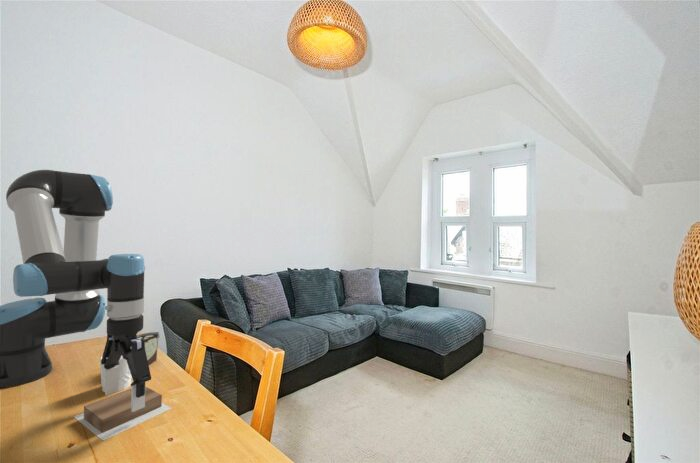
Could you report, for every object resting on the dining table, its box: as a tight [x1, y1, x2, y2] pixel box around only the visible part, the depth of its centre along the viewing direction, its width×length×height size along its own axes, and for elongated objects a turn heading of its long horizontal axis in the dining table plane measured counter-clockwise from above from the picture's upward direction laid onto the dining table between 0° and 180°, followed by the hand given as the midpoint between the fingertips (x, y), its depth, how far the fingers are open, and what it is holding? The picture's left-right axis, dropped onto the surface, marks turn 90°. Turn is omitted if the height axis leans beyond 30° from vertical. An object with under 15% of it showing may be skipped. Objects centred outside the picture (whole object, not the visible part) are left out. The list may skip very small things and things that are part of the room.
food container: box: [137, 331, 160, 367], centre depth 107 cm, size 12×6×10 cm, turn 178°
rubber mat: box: [73, 402, 173, 441], centre depth 80 cm, size 16×15×1 cm
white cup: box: [99, 355, 132, 393], centre depth 92 cm, size 8×8×10 cm
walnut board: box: [83, 385, 163, 433], centre depth 80 cm, size 10×13×3 cm
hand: (124, 400), depth 80 cm, fingers open, 13 cm apart
